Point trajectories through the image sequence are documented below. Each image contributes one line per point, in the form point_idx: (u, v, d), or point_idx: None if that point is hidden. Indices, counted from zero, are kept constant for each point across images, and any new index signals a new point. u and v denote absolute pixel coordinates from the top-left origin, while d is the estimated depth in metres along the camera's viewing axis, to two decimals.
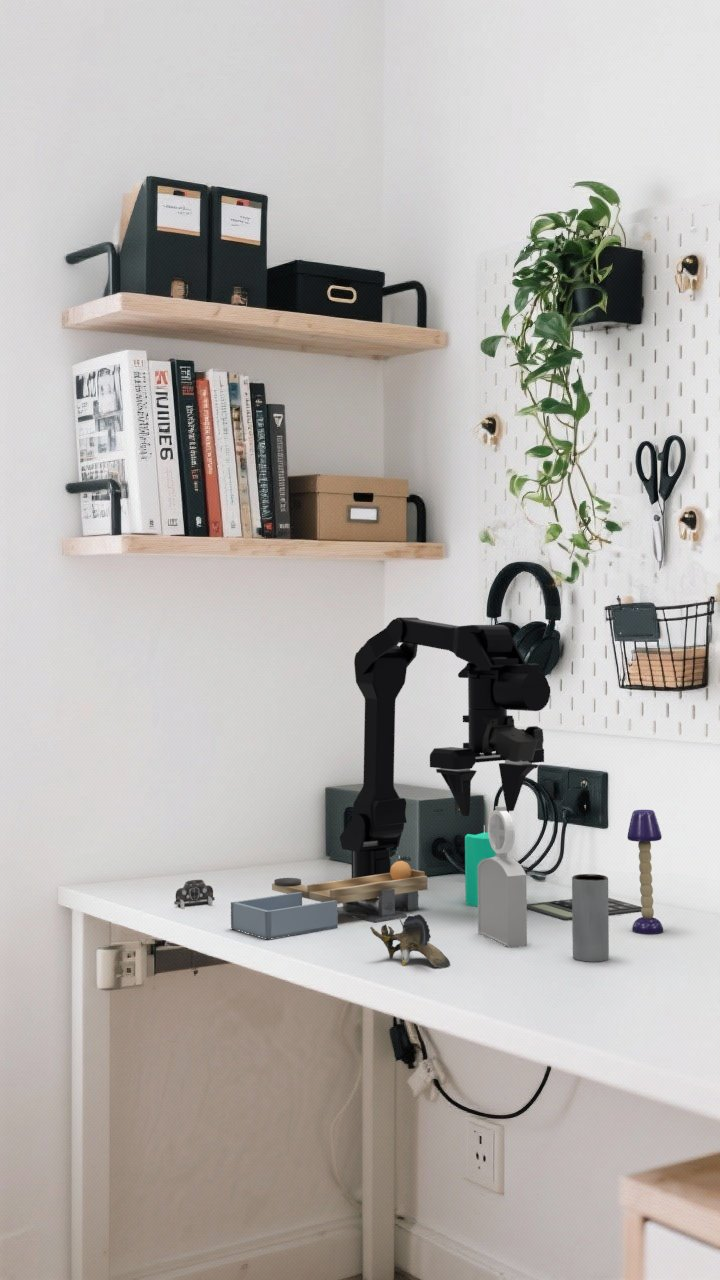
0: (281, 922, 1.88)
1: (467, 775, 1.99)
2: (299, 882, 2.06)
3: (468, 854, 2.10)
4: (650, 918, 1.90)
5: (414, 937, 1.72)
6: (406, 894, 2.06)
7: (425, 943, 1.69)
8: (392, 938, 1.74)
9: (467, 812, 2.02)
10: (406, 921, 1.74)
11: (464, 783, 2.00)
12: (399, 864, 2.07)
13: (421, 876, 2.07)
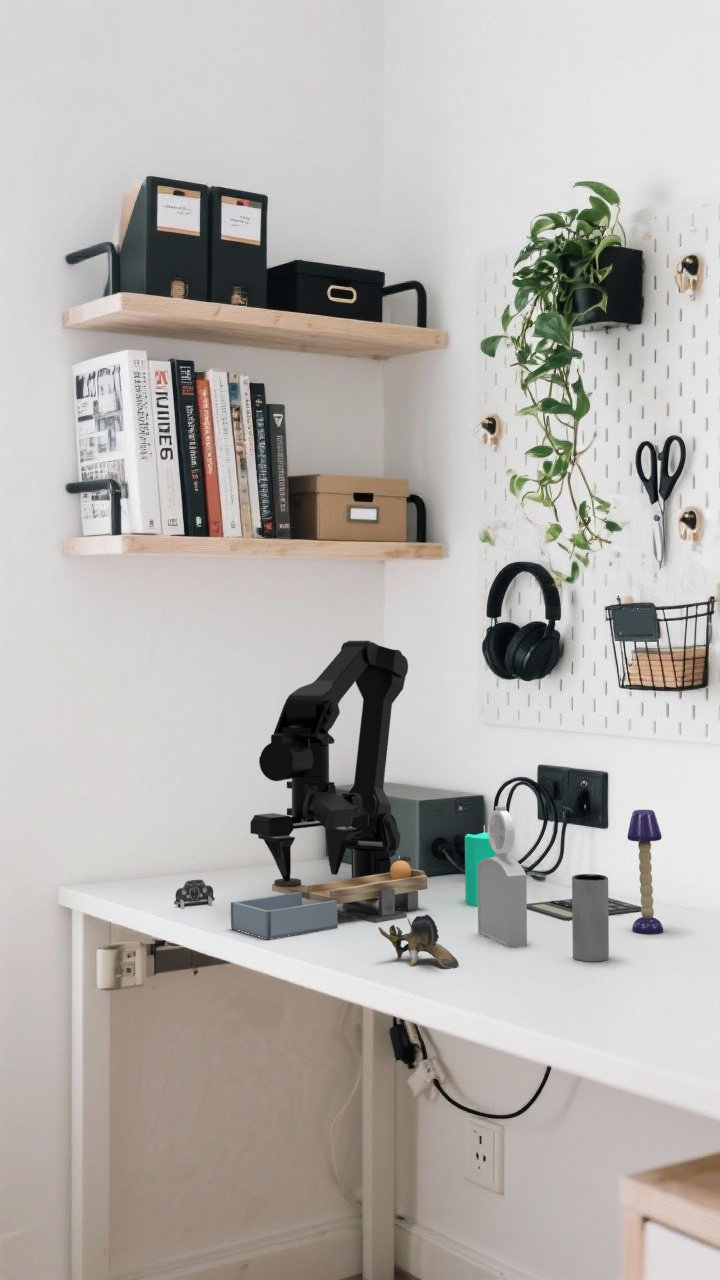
0: (281, 922, 1.88)
1: (285, 842, 2.04)
2: (299, 882, 2.06)
3: (468, 854, 2.10)
4: (650, 918, 1.90)
5: (422, 937, 1.72)
6: (406, 894, 2.06)
7: (433, 943, 1.69)
8: (400, 938, 1.74)
9: (287, 877, 2.06)
10: (414, 921, 1.74)
11: (283, 849, 2.05)
12: (399, 864, 2.07)
13: (421, 876, 2.07)
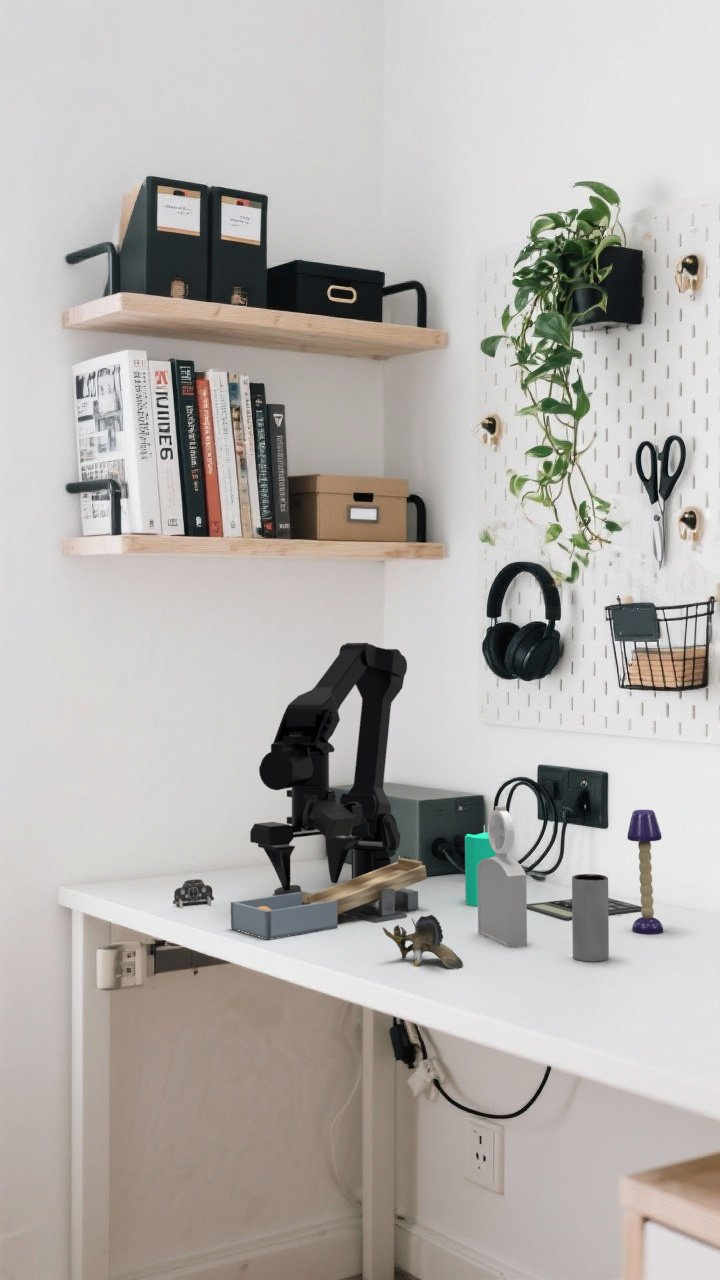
0: (281, 922, 1.88)
1: (285, 851, 2.04)
2: (299, 890, 2.06)
3: (468, 854, 2.10)
4: (650, 918, 1.90)
5: (427, 938, 1.72)
6: (406, 894, 2.06)
7: (438, 944, 1.68)
8: (405, 939, 1.74)
9: (287, 886, 2.06)
10: (419, 922, 1.74)
11: (283, 858, 2.05)
12: None
13: (419, 867, 2.06)
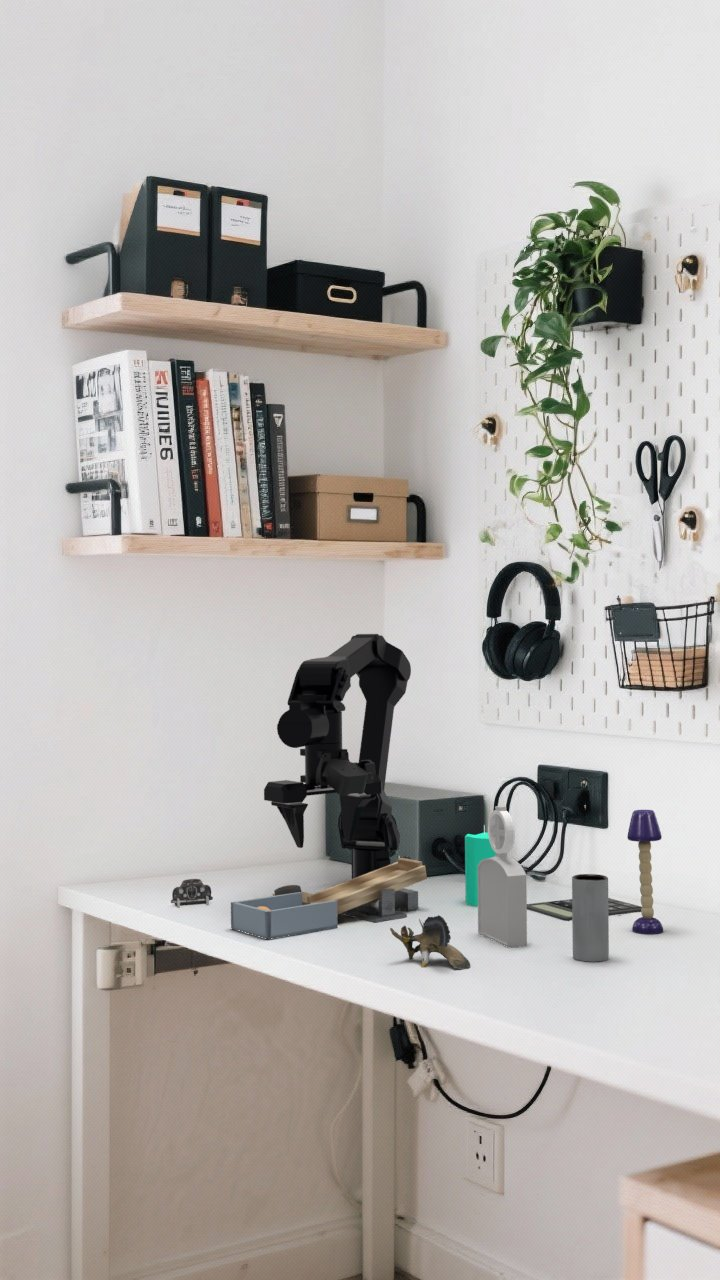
0: (281, 922, 1.88)
1: (298, 808, 2.04)
2: (299, 890, 2.06)
3: (468, 854, 2.10)
4: (650, 918, 1.90)
5: (434, 938, 1.72)
6: (406, 894, 2.06)
7: (445, 944, 1.68)
8: (412, 939, 1.74)
9: (301, 844, 2.07)
10: (426, 922, 1.74)
11: (296, 816, 2.06)
12: None
13: (419, 867, 2.06)
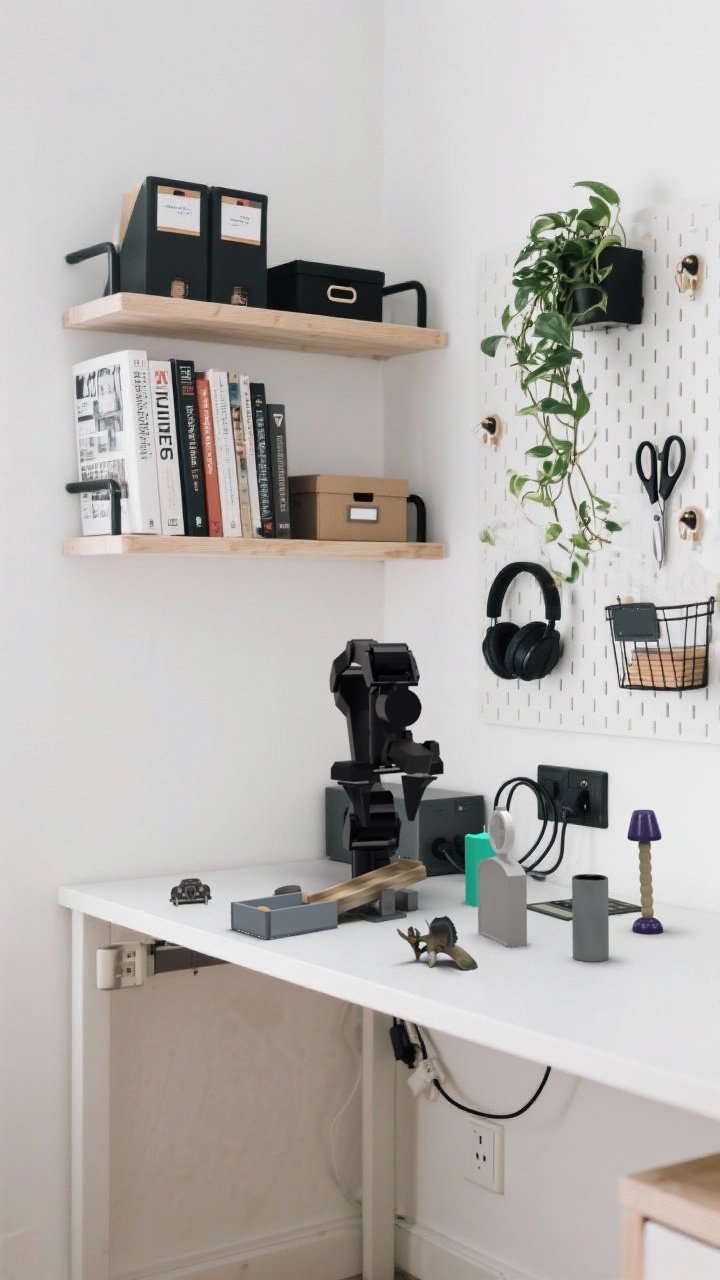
0: (281, 922, 1.88)
1: (365, 787, 2.08)
2: (299, 890, 2.06)
3: (468, 854, 2.10)
4: (650, 918, 1.90)
5: (441, 939, 1.71)
6: (406, 894, 2.06)
7: (452, 945, 1.68)
8: (418, 940, 1.73)
9: (366, 822, 2.10)
10: (433, 923, 1.73)
11: (363, 795, 2.09)
12: None
13: (419, 867, 2.06)
